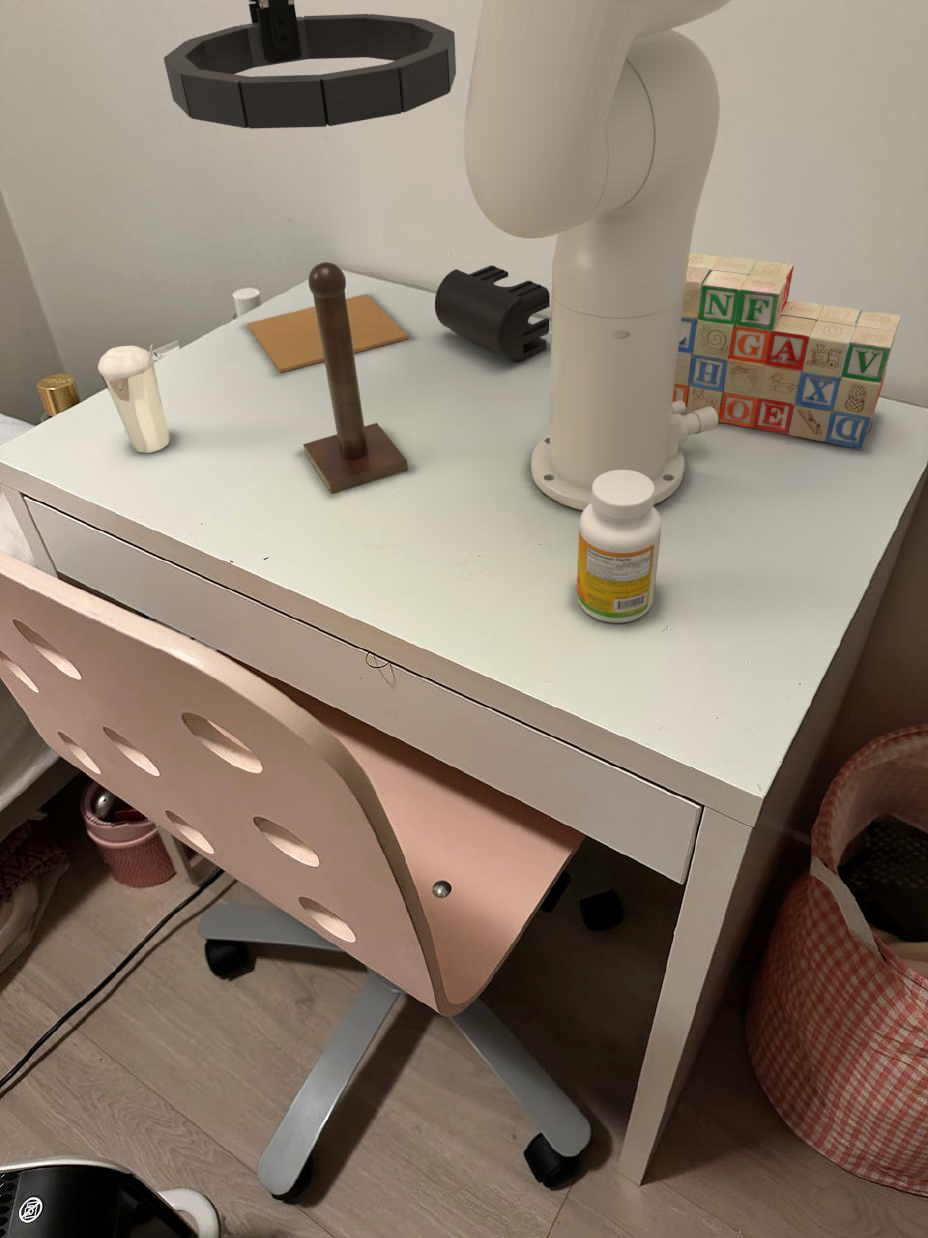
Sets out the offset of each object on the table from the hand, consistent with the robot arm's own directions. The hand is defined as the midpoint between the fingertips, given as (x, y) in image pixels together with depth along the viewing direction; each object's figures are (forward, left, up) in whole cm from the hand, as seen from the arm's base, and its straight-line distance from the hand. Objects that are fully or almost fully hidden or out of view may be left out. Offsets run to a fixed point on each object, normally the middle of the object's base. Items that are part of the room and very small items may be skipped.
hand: (279, 55), depth 82 cm
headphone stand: (+6, +25, -26) cm, 37 cm away
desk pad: (0, 0, -26) cm, 26 cm away
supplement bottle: (-4, +51, -26) cm, 58 cm away
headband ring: (0, +10, -1) cm, 10 cm away
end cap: (-14, +12, -26) cm, 32 cm away
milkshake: (+21, +13, -26) cm, 36 cm away
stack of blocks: (-28, +35, -26) cm, 52 cm away
